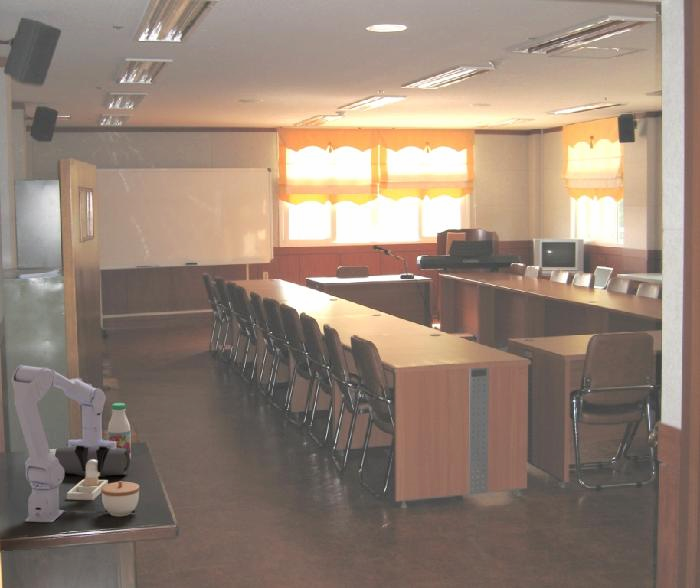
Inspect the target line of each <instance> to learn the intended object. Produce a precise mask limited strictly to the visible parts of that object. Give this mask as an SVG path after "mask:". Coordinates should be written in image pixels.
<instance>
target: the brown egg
mask: <svg viewBox="0 0 700 588" xmlns="http://www.w3.org/2000/svg"><path fill="white" fill-rule="evenodd" d="M98 480H99V476H98V477H93V478H89V477H86V476H84V486H98Z"/></svg>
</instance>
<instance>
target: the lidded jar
mask: <svg viewBox="0 0 700 588" xmlns="http://www.w3.org/2000/svg"><path fill="white" fill-rule="evenodd" d="M139 496H140V485H139V484H138V483H135V482H130V481H122V480H119V481H115V482H110V483H109V482H108V484H106V485H104V486H103V487H102V488H101V500H102V504H103V505H102V506H103V507H104V509H105V510H106V511H107V512H108V513H109V515H110V516H112V517H113V516H114V517H126V516H129V515H132V512H133V511H134V510H135V509H136V507H137V506H138V503H139V498H140V497H139Z"/></svg>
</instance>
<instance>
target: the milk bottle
mask: <svg viewBox="0 0 700 588" xmlns="http://www.w3.org/2000/svg"><path fill="white" fill-rule="evenodd" d="M126 410H127V409H126V403H123V402H115V403H112V404H111V413H112V414H111V417H110V420H109V422H108V426H107V441H116V447H117V448H123V449H128V451H129V455H130V460H131V459H132V451H131V450H132V449H131V448H132V447H131V441H132V440H131V425H130V423H129V420H128V417H127V415H126Z"/></svg>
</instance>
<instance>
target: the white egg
mask: <svg viewBox="0 0 700 588" xmlns="http://www.w3.org/2000/svg"><path fill="white" fill-rule="evenodd" d="M85 477H89V478H93V477H98V478H99V477H101V476H100V472H98V461H97V460H95V459H91V460H89V461H88V462H87V463H86V476H85Z"/></svg>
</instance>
